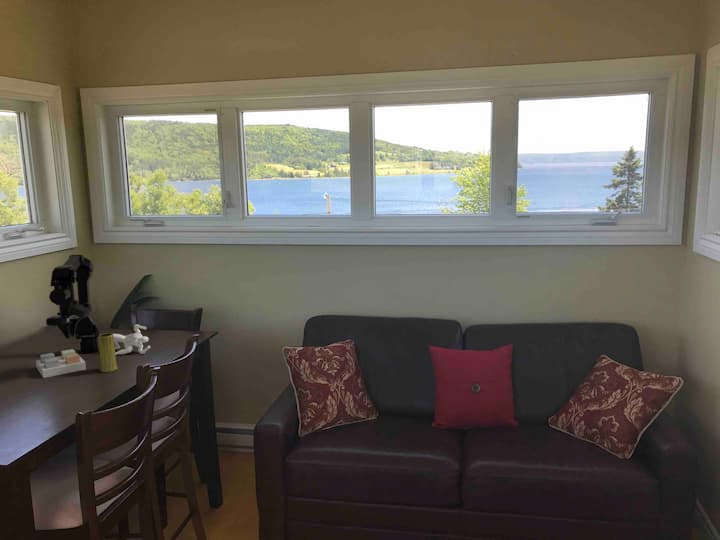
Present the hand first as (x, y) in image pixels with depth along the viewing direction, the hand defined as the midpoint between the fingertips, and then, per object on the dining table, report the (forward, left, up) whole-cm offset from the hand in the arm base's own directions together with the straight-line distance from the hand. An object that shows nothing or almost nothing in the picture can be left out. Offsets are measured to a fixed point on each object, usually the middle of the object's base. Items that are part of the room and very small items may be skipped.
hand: (70, 337), depth 222 cm
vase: (-11, +10, -13) cm, 20 cm away
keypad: (+4, -4, -13) cm, 14 cm away
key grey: (+7, 0, -10) cm, 13 cm away
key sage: (0, -8, -10) cm, 13 cm away
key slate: (+7, -7, -10) cm, 15 cm away
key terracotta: (0, 0, -10) cm, 10 cm away
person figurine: (-24, -8, -13) cm, 29 cm away
